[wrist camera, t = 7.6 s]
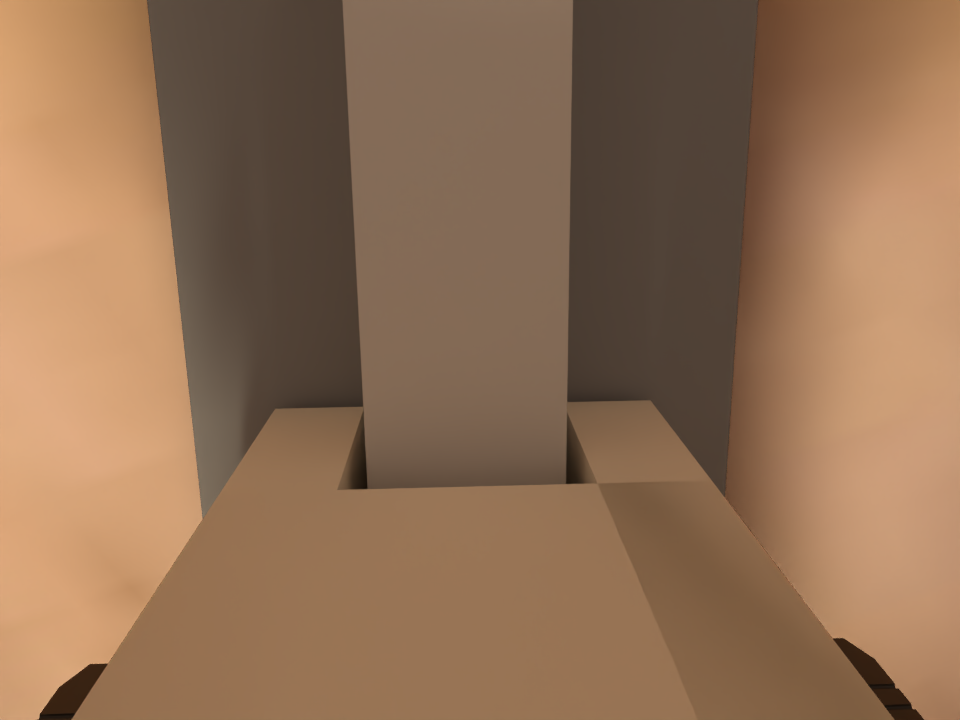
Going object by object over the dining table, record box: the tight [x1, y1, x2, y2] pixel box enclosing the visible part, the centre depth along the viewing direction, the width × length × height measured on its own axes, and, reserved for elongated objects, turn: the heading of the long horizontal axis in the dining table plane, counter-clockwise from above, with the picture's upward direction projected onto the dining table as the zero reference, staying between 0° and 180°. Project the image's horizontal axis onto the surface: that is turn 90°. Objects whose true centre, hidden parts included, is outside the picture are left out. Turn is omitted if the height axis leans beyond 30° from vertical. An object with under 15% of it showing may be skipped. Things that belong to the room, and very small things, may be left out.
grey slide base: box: [147, 0, 758, 518], centre depth 13 cm, size 10×19×5 cm, turn 1°
